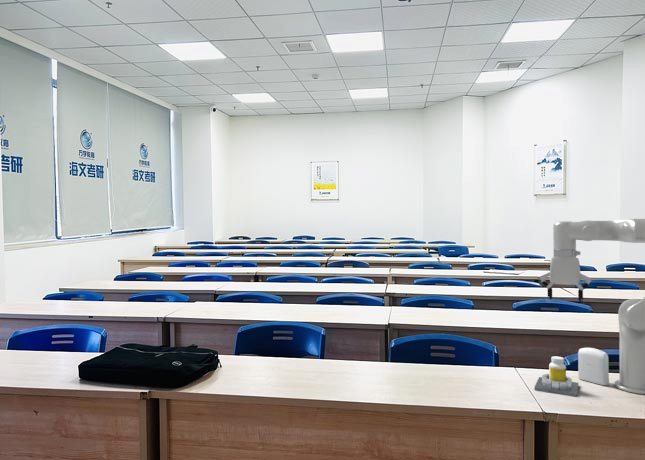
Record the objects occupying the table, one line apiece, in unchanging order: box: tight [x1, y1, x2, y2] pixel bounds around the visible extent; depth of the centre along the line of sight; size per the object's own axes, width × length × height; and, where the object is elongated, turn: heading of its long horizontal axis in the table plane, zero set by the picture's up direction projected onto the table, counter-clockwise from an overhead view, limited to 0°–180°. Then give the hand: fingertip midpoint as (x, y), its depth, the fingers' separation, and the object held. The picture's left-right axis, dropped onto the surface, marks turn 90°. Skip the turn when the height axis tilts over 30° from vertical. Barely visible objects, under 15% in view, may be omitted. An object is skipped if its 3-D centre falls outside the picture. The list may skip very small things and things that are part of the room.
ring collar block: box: [534, 373, 579, 397], centre depth 168 cm, size 13×13×4 cm
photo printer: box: [577, 347, 610, 386], centre depth 174 cm, size 10×4×12 cm, turn 32°
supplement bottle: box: [548, 355, 567, 381], centre depth 167 cm, size 5×5×10 cm
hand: (565, 299), depth 176 cm, fingers open, 9 cm apart
